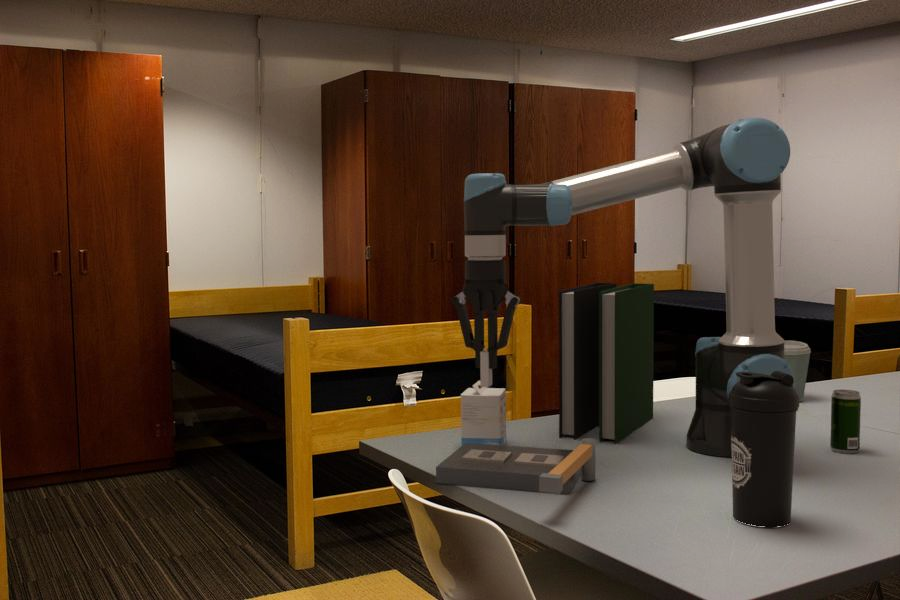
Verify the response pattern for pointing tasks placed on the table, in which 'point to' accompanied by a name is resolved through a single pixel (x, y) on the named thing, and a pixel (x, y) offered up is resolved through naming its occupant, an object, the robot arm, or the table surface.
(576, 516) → the table surface
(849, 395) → the beer can
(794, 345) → the disposable coffee cup
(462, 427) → the ink box
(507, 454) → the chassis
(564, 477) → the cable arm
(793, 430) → the water bottle
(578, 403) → the books
